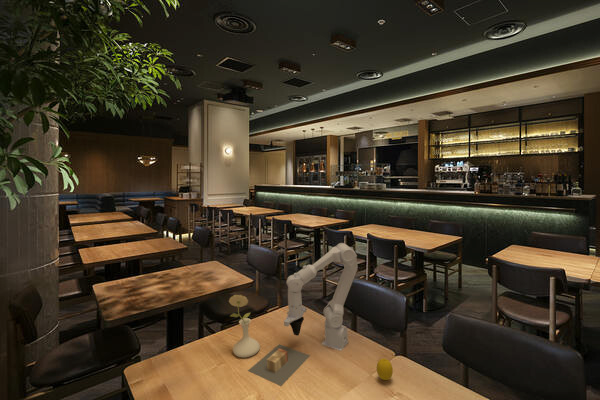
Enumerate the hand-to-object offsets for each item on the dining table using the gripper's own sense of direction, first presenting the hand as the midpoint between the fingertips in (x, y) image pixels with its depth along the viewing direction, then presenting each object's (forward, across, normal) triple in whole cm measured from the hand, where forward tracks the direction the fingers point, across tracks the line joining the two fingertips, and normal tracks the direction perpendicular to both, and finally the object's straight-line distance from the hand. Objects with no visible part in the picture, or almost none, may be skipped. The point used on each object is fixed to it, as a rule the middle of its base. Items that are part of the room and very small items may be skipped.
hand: (296, 334), depth 125 cm
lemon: (+7, 0, +38) cm, 38 cm away
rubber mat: (+6, +12, 0) cm, 14 cm away
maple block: (+4, +10, 0) cm, 10 cm away
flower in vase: (+6, +13, -18) cm, 23 cm away
